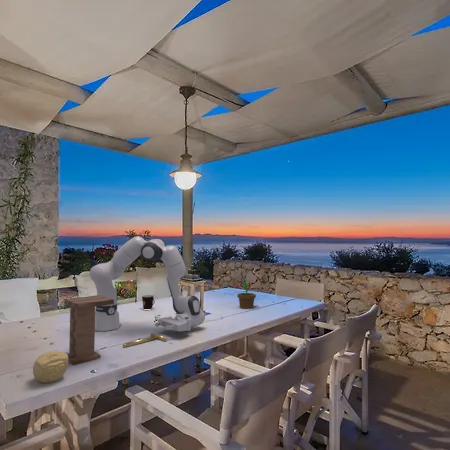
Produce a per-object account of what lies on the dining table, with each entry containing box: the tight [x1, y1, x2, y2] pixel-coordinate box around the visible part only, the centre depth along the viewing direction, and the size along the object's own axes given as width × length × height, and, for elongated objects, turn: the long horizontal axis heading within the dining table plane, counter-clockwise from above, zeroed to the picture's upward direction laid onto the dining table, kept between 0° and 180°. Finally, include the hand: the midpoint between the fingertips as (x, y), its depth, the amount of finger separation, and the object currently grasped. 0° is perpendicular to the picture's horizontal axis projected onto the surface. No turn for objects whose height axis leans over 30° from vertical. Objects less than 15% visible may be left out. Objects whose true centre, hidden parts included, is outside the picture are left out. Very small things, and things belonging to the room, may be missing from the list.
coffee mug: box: [141, 294, 156, 309], centre depth 252 cm, size 12×9×10 cm
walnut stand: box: [64, 294, 114, 366], centre depth 155 cm, size 16×17×26 cm
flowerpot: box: [236, 268, 257, 310], centre depth 262 cm, size 14×14×30 cm
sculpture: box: [32, 349, 69, 384], centre depth 130 cm, size 11×12×11 cm
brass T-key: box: [122, 332, 168, 348], centre depth 175 cm, size 14×22×2 cm, turn 135°
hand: (160, 326), depth 183 cm, fingers open, 8 cm apart
